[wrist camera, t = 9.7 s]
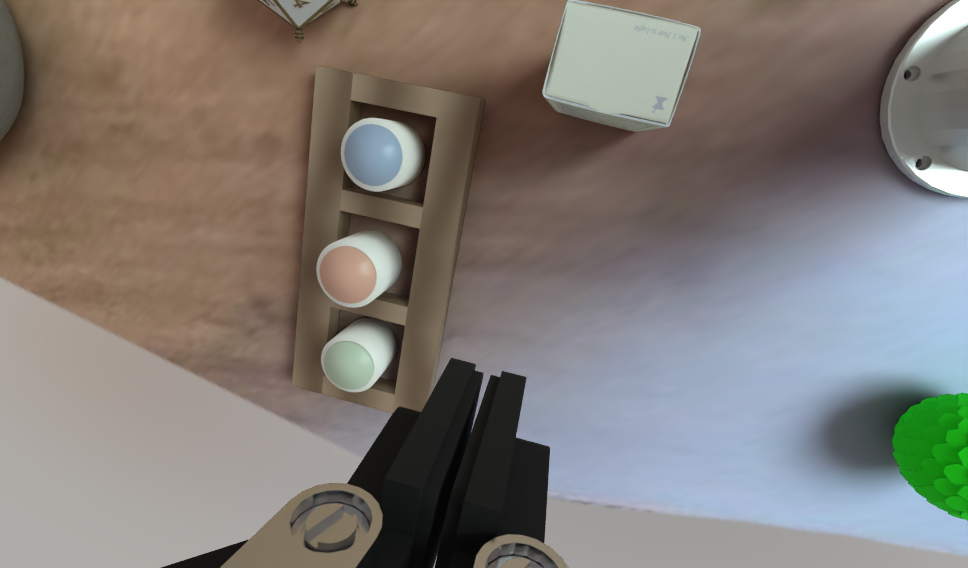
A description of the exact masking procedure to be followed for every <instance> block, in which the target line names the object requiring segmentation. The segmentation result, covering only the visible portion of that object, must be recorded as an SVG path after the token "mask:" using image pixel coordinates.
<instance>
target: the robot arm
mask: <svg viewBox="0 0 968 568" xmlns="http://www.w3.org/2000/svg"><path fill="white" fill-rule="evenodd" d="M904 72H905V73H906V77H905V78H904ZM880 126H881V132H882V138H883V141H884V143H885V146H886V149H887V151H888V154H889V156H890V157H891V158H892V160H893V161H894V163H895V164H896V165H897V167H898V168H899V170H901V171H902V172H903V173H904V174H905V175H906V176H907V177H909V178H910V179H911V180H912V181H913V182H915V183H917V184H919V185H921V186H923V187H925V188H926V189H928V190H931V191H934V192H938V193H941V194H944V195H948V196H955V197H962V198H968V0H953V1H951V2H949V3H948V4H946V5H945V6H944V7H943V8H941V9H940V10H939V11H938V12H936V13H935V14H934V15H933V16H931V17H930V18H929V19H928V20H926V22H925V23H924V24H923V25H922V26H921V27H920V28H919V29H918V30H917V31H916V32H915V33H914V34H913V35H912V36H911V38H910V39H909V40H908V42H907V43H906V45H905V46H904V48H903V49H902V50H901V52H900V53H899V55H898V56H897V58H896V60H895V62H894V64H893V66H892V68H891V70H890V72H889V75H888V77H887V79H886V83H885V86H884V90H883V94H882V97H881V106H880ZM916 161H918V162H917V165H916ZM915 165H916V166H915ZM475 367H476V364H473V363H469V362H465V361H461V360H458V359H454V358H451V359H450V361H449V363H448V365H447V366H446V368H445V370H444V372H443V374H442V375H441V377H440V379H439V381H438V383H437V384H436V386H435V388H434V390H433V392H432V393H431V395H430V397H429V399H428V401H427V403H426V404H425V406H424V408H423V410H422V412H419V411H416V410H412V409H408V408H404V407H401V406H400V407H398V408H397V409H396V410H395V411H394V413H393V414H392V416H391V417H390V419H389V420H388V422H387V423H386V425H385V427H384V428H383V430H382V431H381V433H380V434H379V436H378V437H377V439H376V440H375V442H374V443H373V445H372V446H371V448H370V449H369V451H368V452H367V454H366V456H365V457H364V459H363V460H362V462H361V463H360V465H359V466H358V468H357V469H356V471H355V472H354V474H353V475H352V477H351V478H350V480H349V482H348V483H347V484H343V483H342V484H341V483H329V484H323V485H317V486H314V487H312V488H310V489H307V490H305V491H302V492H301V493H300V494H298V495H297V496H296V497H294V498H293V499H291V500H290V501H289V502H288V503H287V504H286V505H285V506H284V507H283V508H282V509H281V510H280V511H279V512H278V513H277V514H276V515H274V517H272V519H270V520H269V521H268V522H267V523H266V524H265V525H264V526H263V527H262V528H261V529H260V530H259V531H258V532H257V533H256V534H255V535H254V536H253V537H252V538H251V539H249V540H246V541H243V542H240V543H237V544H233V545H230V546H227V547H224V548H221V549H218V550H215V551H212V552H209V553H205V554H202V555H199V556H196V557H193V558H190V559H187V560H184V561H180V562H177V563H174V564H171V565H168V566H165V567H162V568H433V566H434V563H435V560H436V557H437V560H436V564H435V568H568V566H567V565H566V564H565V562H564V560H563V559H562V558H561V557H560V556H559V555H558V554H557V553H556V552H555V551H554V550H553V549H552V548H551V547H549V546H547V545H546V544H544V537H545V521H546V506H547V489H548V473H549V456H550V448H549V446H545V445H541V444H538V443H534V442H530V441H526V440H523V439H519V438H516V432H517V427H518V421H519V416H520V410H521V405H522V399H523V394H524V388H525V383H526V377H524V376H520V375H516V374H512V373H508V372H504V371H502V373H501V377H497V376H493V375H491V376H490V379H489V382H488V385H487V388H486V391H485V394H484V397H483V400H482V403H481V406H480V409H479V412H478V415H477V418H476V421H475V424H474V426H473V421H474V416H475V412H476V407H477V402H478V398H479V393H480V388H481V384H482V379H483V373H482V372H478V371H475ZM472 426H473V429H472ZM471 430H472V432H471ZM437 554H438V555H437Z"/></svg>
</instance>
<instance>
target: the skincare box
mask: <svg viewBox="0 0 968 568" xmlns="http://www.w3.org/2000/svg"><path fill="white" fill-rule="evenodd" d="M700 34H701V29H700V28H699V27H697V26H693V25H690V24H686V23H682V22H679V21H675V20H671V19H667V18H663V17H658V16H654V15H649V14H645V13H640V12H635V11H631V10H626V9H621V8H616V7H610V6H606V5H600V4H595V3H590V2H585V1H578V0H568V1H567V3H566V7H565V10H564V14H563V17H562V21H561V24H560V28H559V31H558V34H557V38H556V41H555V45H554V48H553V52H552V56H551V59H550V63H549V67H548V71H547V75H546V78H545V82H544V87H543V91H542V95H543V96H544V98H545V99H546V100H547V101H548V102H549V103H550V104H551V106H552V107H553V108H554V109H555V110H556V111H557V112H559V113H563V114H566V115H570V116H574V117H577V118H581V119H585V120H588V121H592V122H596V123H600V124H604V125H608V126H612V127H616V128H621V129H625V130H630V131H634V132H640V131H647V130H653V129H659V128H666V127H669V126H670V123H671V120H672V117H673V115H674V112H675V110H676V107H677V104H678V101H679V98H680V96H681V93H682V90H683V87H684V84H685V81H686V78H687V76H688V72H689V70H690V67H691V64H692V61H693V58H694V54H695V51H696V48H697V44H698V41H699V38H700Z"/></svg>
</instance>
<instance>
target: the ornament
mask: <svg viewBox="0 0 968 568" xmlns="http://www.w3.org/2000/svg"><path fill="white" fill-rule="evenodd" d="M892 445H893V448H894V450H895V451H893V457H894V458H895V460H896V462H897V463H898V464H899V465H898V466H899V468H900V473H901V475H902V476H903V477H904V478H905V479H906V480H907V481H908V483H909V484H910V485H911V486H912V487H913V488H914V489H915V491H916V492H917V493H919V494H920V495H922V496H923V497H925V498H926V499H927V501H928V502H929V503H931V504H933V505H935V506H937V507H938V508H940V509H942V510H944V511H947V512H948V514H950V515H952V516H955V517H958V518H961V519H966V520H968V394H966V393H960V394H956V395H951V394H945V395H939V397H931V398H926V399H924V400H922V401H921V403H920V404H917V405H914V406H911V407H910V408H909V409H908V410H907V412H906V413H905V414H903V415H902V416H901V417H900V419H899V422H897V424H896V425H895V427H894V436H893V439H892Z"/></svg>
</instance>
